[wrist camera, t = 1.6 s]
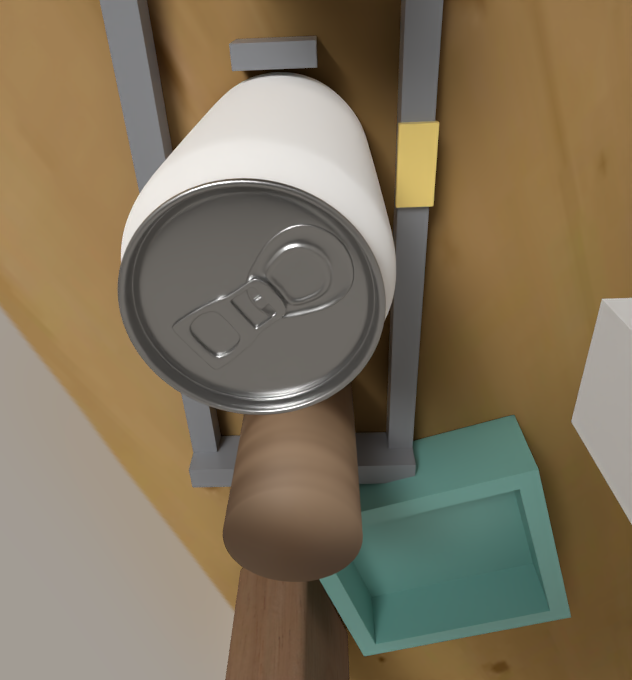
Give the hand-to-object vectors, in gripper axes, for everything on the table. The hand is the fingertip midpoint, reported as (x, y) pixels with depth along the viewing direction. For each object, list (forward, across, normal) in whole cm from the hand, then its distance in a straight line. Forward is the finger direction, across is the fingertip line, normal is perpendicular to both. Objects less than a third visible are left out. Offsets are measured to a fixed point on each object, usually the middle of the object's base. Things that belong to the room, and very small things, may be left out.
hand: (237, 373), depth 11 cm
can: (+14, 0, 0) cm, 14 cm away
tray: (+14, +7, -20) cm, 25 cm away
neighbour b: (+14, 0, -10) cm, 17 cm away
